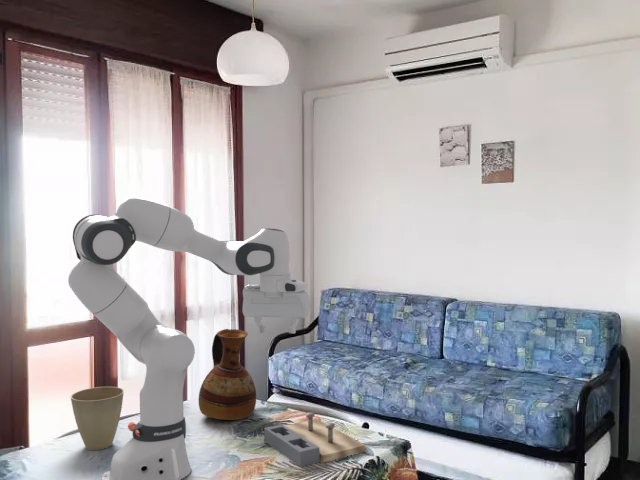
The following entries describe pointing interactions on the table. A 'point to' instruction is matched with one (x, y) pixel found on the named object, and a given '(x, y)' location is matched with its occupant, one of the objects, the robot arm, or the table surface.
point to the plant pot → (97, 415)
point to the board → (327, 439)
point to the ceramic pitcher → (227, 380)
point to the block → (292, 445)
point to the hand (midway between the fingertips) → (276, 332)
